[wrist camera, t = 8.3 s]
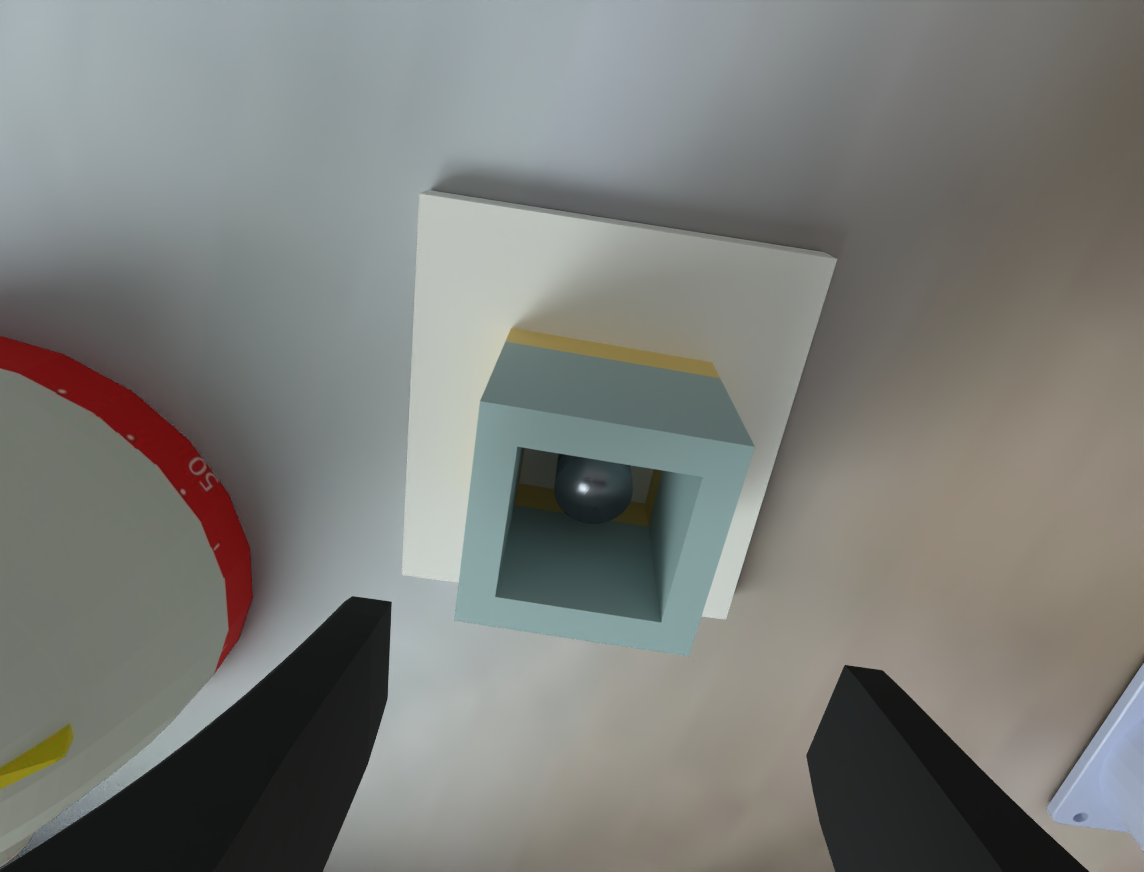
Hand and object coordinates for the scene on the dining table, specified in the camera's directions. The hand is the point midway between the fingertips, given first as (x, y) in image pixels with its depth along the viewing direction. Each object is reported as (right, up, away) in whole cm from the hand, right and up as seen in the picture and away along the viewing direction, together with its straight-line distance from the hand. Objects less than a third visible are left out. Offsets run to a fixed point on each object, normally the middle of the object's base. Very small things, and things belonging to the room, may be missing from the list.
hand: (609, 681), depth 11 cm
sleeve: (0, +4, +7) cm, 8 cm away
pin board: (0, +4, +8) cm, 9 cm away
